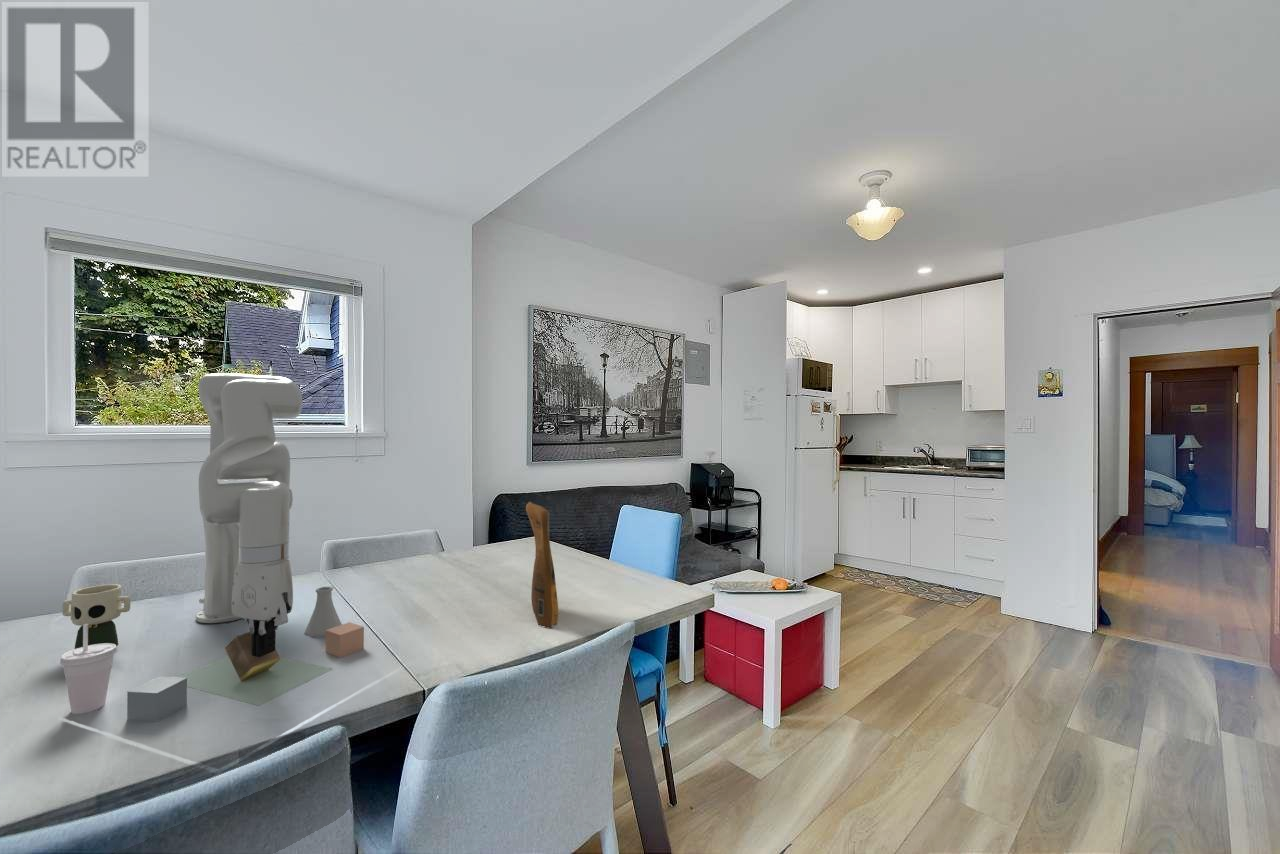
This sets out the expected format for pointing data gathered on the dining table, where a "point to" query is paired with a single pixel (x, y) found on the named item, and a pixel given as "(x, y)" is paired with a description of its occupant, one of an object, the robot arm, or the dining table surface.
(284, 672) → the rubber mat
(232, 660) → the walnut block
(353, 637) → the terracotta block
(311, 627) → the flask
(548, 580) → the pancake mix bag
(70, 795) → the dining table surface
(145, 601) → the dining table surface
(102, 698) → the smoothie
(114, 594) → the character mug
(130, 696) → the slate block
